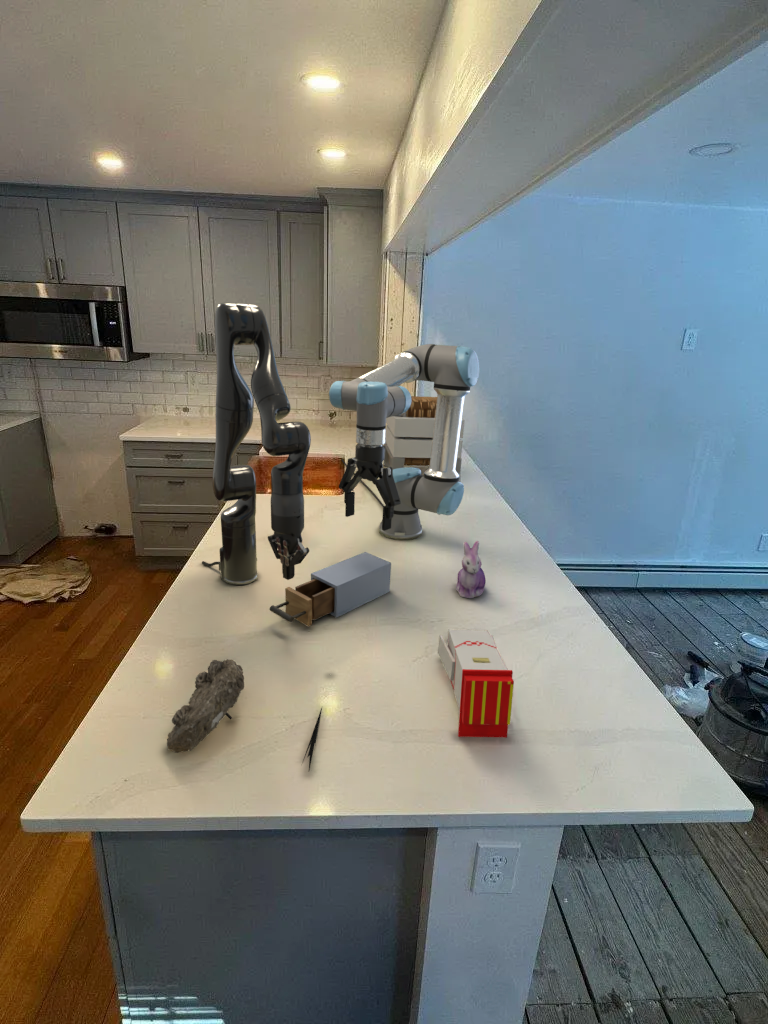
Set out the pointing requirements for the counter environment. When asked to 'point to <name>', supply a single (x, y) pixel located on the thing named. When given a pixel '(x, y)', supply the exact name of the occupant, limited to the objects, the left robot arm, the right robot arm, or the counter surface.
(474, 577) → the figurine
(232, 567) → the left robot arm
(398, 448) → the white slatted crate
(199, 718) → the fossil
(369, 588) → the cabinet
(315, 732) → the feather
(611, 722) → the counter surface
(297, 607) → the drawer
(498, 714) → the toy
